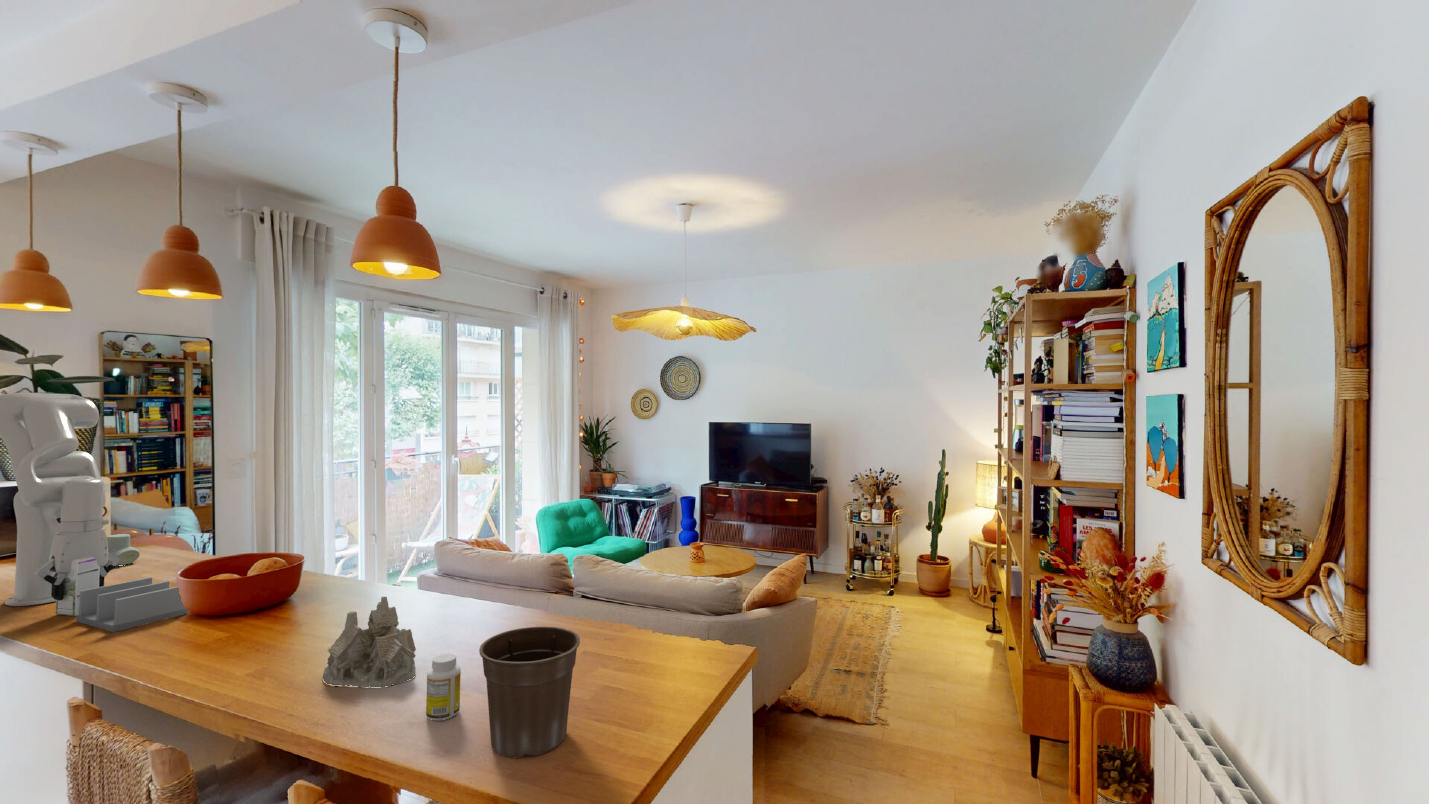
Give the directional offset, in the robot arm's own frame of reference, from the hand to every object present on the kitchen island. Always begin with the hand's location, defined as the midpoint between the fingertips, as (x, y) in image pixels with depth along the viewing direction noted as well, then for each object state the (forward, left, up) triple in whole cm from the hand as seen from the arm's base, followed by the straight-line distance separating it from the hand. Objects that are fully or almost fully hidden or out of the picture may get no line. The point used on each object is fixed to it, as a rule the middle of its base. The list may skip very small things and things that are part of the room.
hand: (78, 595), depth 156 cm
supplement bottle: (+126, 0, -5) cm, 126 cm away
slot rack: (+17, +4, -5) cm, 18 cm away
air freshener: (-50, +29, -5) cm, 58 cm away
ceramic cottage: (+100, +6, -5) cm, 100 cm away
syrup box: (0, 0, -5) cm, 5 cm away
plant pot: (+145, 0, -5) cm, 145 cm away
